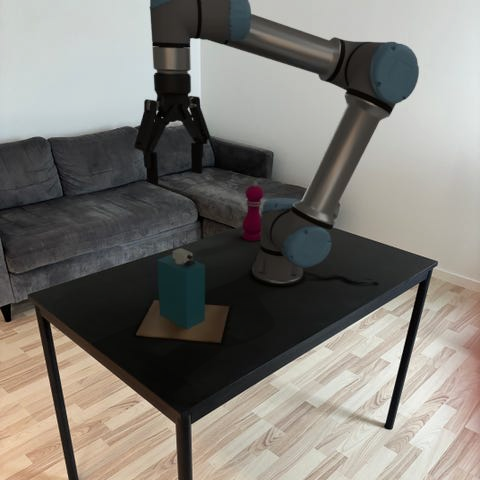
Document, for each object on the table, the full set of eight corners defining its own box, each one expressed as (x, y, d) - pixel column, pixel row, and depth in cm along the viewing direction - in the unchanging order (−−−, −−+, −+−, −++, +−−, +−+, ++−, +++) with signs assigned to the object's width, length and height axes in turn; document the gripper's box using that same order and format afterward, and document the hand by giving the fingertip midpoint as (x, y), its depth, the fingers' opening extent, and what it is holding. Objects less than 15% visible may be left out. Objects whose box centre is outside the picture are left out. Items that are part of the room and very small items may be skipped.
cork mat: (229, 308, 125) (229, 306, 125) (220, 343, 111) (220, 341, 111) (154, 301, 127) (154, 300, 126) (136, 335, 112) (135, 333, 112)
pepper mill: (260, 242, 167) (264, 185, 157) (240, 240, 168) (242, 183, 158) (263, 235, 173) (267, 179, 163) (243, 233, 174) (246, 177, 164)
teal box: (177, 306, 124) (204, 320, 118) (159, 314, 120) (187, 329, 114) (175, 242, 115) (205, 253, 109) (156, 248, 111) (185, 261, 105)
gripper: (201, 69, 107) (201, 166, 118) (110, 72, 91) (120, 184, 101) (226, 71, 103) (224, 171, 114) (136, 74, 86) (144, 191, 97)
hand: (175, 178), depth 108 cm, fingers open, 13 cm apart
